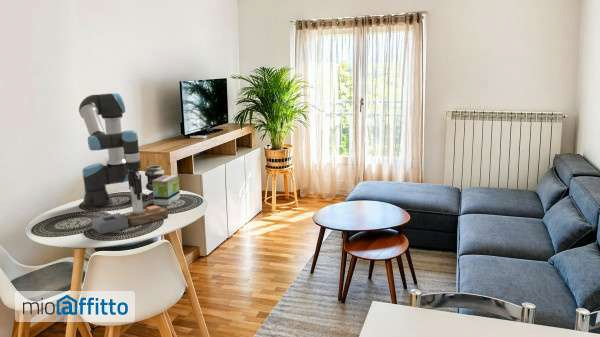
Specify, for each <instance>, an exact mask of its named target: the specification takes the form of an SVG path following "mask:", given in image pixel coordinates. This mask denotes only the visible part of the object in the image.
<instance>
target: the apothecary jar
mask: <svg viewBox="0 0 600 337" xmlns="http://www.w3.org/2000/svg"><path fill="white" fill-rule="evenodd" d="M163 175H165V170H164V169H162V166H161V165H159V164H158V165H156V164H155V165H149V166H147V167H146V171H145V172H144V176H145V177H147V178H146V179H147V183H146V184H145V188H146V190H148V191H149V192H150V193H148V196H149V197H153V185H152V181H153V180H155V179H157V178H159V177H161V176H163Z"/></svg>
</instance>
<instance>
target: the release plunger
mask: <svg viewBox="0 0 600 337" xmlns="http://www.w3.org/2000/svg"><path fill="white" fill-rule="evenodd" d="M158 206H159V205H154V204H153V205H151V206H146V208H145V209H147V211H148V212H150V213H151V212H155V211H159V207H158Z"/></svg>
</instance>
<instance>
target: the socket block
mask: <svg viewBox="0 0 600 337" xmlns="http://www.w3.org/2000/svg"><path fill="white" fill-rule="evenodd" d="M157 206H158V207H159V211H155V212H151V213H150V212H148V211H147V209H146V208H143V213H144V214H142V215H138V216H134V215H133V211H130V212H125V213H122V215H123V216H125V217H127V219H128V226H129V227H135V226H140V225H143V224H148V223H151V222H155V221H156V222H157V221H160V220H164V219H167V218H169V212H168V211H169V210H168V209H165V208H164V207H161V205H157Z"/></svg>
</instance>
